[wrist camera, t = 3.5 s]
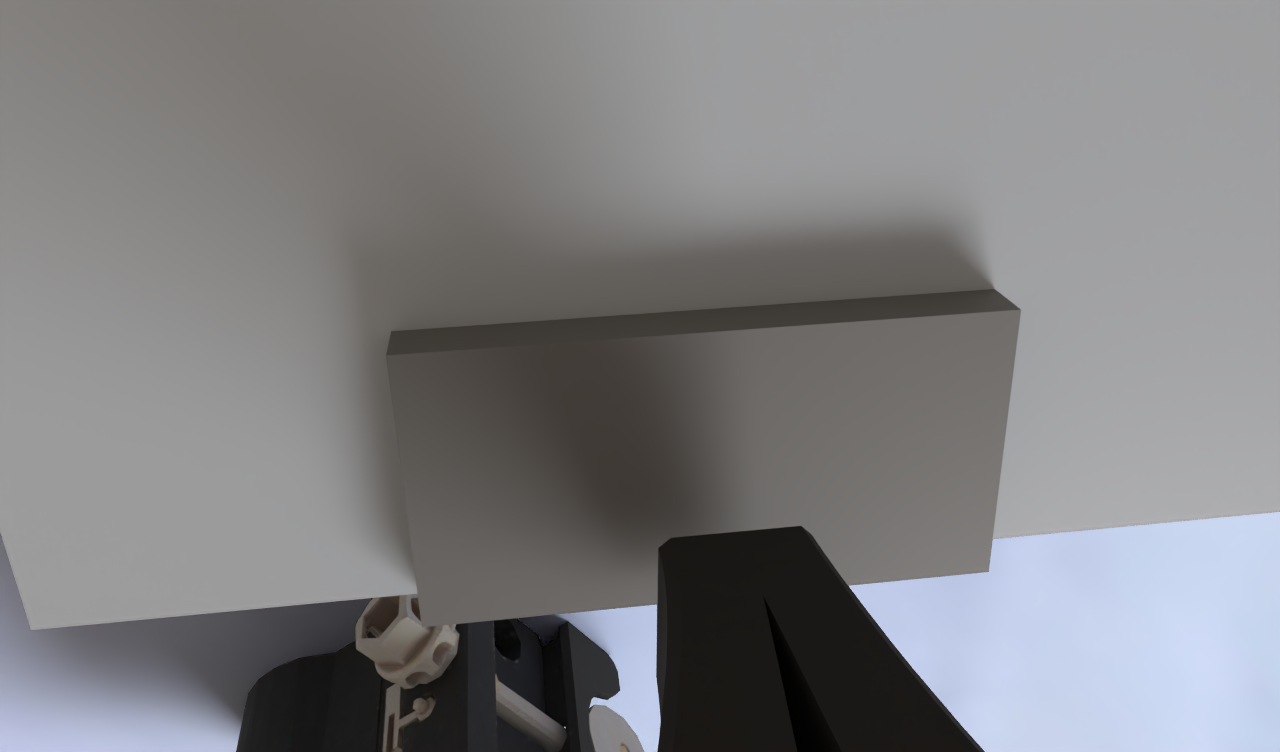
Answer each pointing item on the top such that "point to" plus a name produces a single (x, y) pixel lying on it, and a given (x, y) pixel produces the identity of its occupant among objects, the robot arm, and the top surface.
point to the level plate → (618, 290)
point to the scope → (440, 691)
